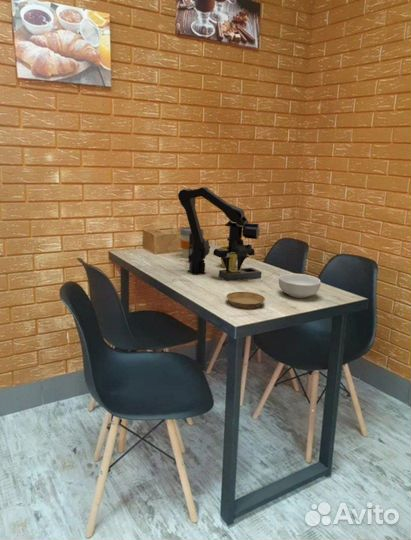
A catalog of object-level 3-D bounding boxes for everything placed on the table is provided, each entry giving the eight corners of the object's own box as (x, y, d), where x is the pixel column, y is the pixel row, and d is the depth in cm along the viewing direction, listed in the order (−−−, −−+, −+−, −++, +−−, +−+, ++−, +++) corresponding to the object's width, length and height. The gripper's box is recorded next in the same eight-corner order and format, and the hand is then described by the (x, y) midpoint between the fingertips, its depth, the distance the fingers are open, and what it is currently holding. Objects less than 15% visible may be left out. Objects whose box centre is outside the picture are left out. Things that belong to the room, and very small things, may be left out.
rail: (227, 281, 203) (227, 274, 202) (218, 276, 210) (219, 270, 209) (261, 277, 211) (261, 271, 210) (251, 273, 218) (252, 267, 217)
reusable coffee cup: (202, 260, 240) (203, 231, 236) (178, 258, 240) (179, 230, 236) (202, 254, 252) (204, 228, 249) (180, 253, 252) (181, 226, 249)
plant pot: (243, 267, 228) (244, 248, 226) (227, 270, 222) (228, 250, 220) (229, 263, 236) (231, 244, 234) (214, 265, 230) (215, 246, 227)
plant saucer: (223, 308, 168) (223, 301, 168) (228, 296, 182) (228, 289, 182) (263, 312, 166) (264, 305, 165) (265, 299, 180) (266, 293, 179)
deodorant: (201, 261, 236) (202, 233, 232) (197, 264, 231) (198, 235, 227) (190, 260, 238) (192, 232, 234) (186, 262, 232) (187, 233, 229)
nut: (231, 279, 206) (231, 271, 205) (226, 277, 209) (226, 268, 208) (238, 279, 208) (239, 270, 207) (233, 276, 211) (234, 268, 210)
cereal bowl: (269, 291, 191) (270, 275, 190) (299, 287, 199) (301, 271, 198) (295, 303, 177) (297, 286, 175) (327, 299, 185) (329, 282, 183)
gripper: (226, 241, 193) (223, 276, 197) (262, 239, 201) (259, 273, 205) (213, 236, 202) (211, 270, 206) (249, 234, 211) (246, 267, 215)
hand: (232, 270), depth 208 cm, fingers open, 6 cm apart
